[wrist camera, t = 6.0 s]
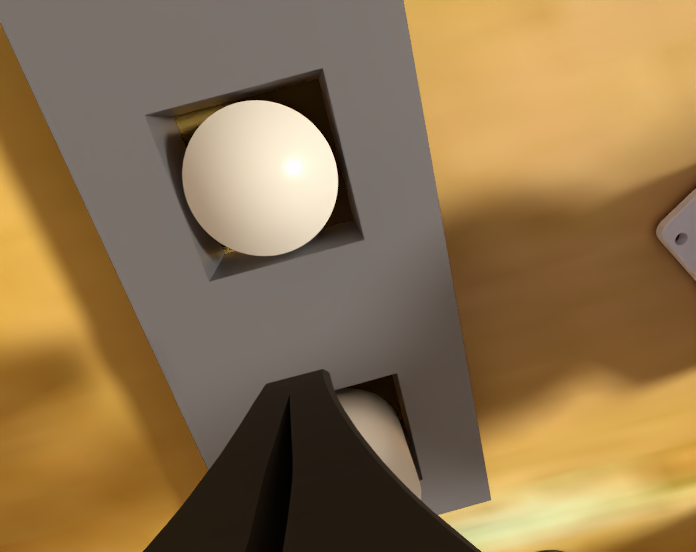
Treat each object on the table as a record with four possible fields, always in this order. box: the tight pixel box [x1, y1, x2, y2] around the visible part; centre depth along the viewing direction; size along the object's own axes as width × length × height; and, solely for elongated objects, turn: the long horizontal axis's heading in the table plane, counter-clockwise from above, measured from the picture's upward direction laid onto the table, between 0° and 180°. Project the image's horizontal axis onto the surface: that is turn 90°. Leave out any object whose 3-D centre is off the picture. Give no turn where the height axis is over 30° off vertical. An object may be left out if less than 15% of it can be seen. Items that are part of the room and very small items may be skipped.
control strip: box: [0, 0, 491, 515], centre depth 14 cm, size 10×29×3 cm, turn 14°
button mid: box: [182, 100, 338, 256], centre depth 14 cm, size 4×4×3 cm
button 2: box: [335, 388, 421, 500], centre depth 15 cm, size 4×4×3 cm
